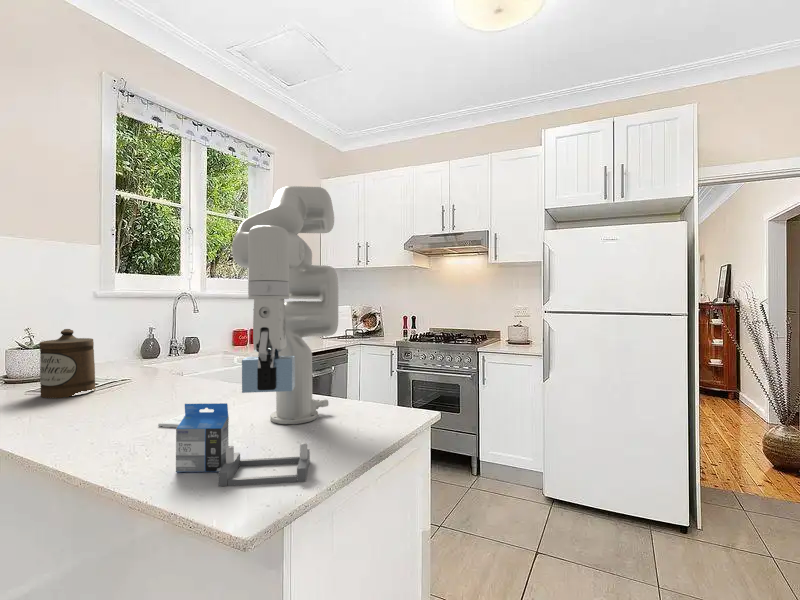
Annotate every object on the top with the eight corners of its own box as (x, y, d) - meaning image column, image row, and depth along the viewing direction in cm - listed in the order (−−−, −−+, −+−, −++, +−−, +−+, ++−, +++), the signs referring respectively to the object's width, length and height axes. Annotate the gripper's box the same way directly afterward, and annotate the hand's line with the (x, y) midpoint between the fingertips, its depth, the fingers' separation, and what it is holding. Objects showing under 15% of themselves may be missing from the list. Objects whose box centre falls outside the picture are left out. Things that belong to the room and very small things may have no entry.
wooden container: (28, 397, 142) (27, 330, 142) (69, 388, 157) (68, 327, 157) (67, 399, 140) (66, 331, 140) (105, 389, 155) (105, 327, 154)
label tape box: (174, 473, 82) (173, 408, 82) (185, 464, 86) (184, 403, 86) (221, 473, 82) (220, 408, 82) (229, 464, 86) (229, 402, 86)
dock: (232, 465, 86) (232, 438, 86) (309, 461, 88) (309, 435, 88) (218, 486, 76) (218, 457, 76) (305, 481, 78) (305, 452, 78)
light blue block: (247, 387, 85) (246, 356, 85) (295, 386, 86) (294, 355, 86) (241, 392, 80) (241, 360, 80) (292, 391, 81) (292, 358, 81)
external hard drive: (216, 417, 121) (186, 431, 109) (190, 415, 123) (157, 429, 111) (216, 411, 121) (186, 424, 109) (190, 410, 123) (157, 422, 111)
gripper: (283, 290, 75) (283, 395, 75) (293, 292, 92) (294, 378, 92) (238, 290, 74) (238, 396, 74) (257, 292, 91) (257, 379, 91)
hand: (269, 385), depth 83 cm, fingers closed on light blue block, 5 cm apart
